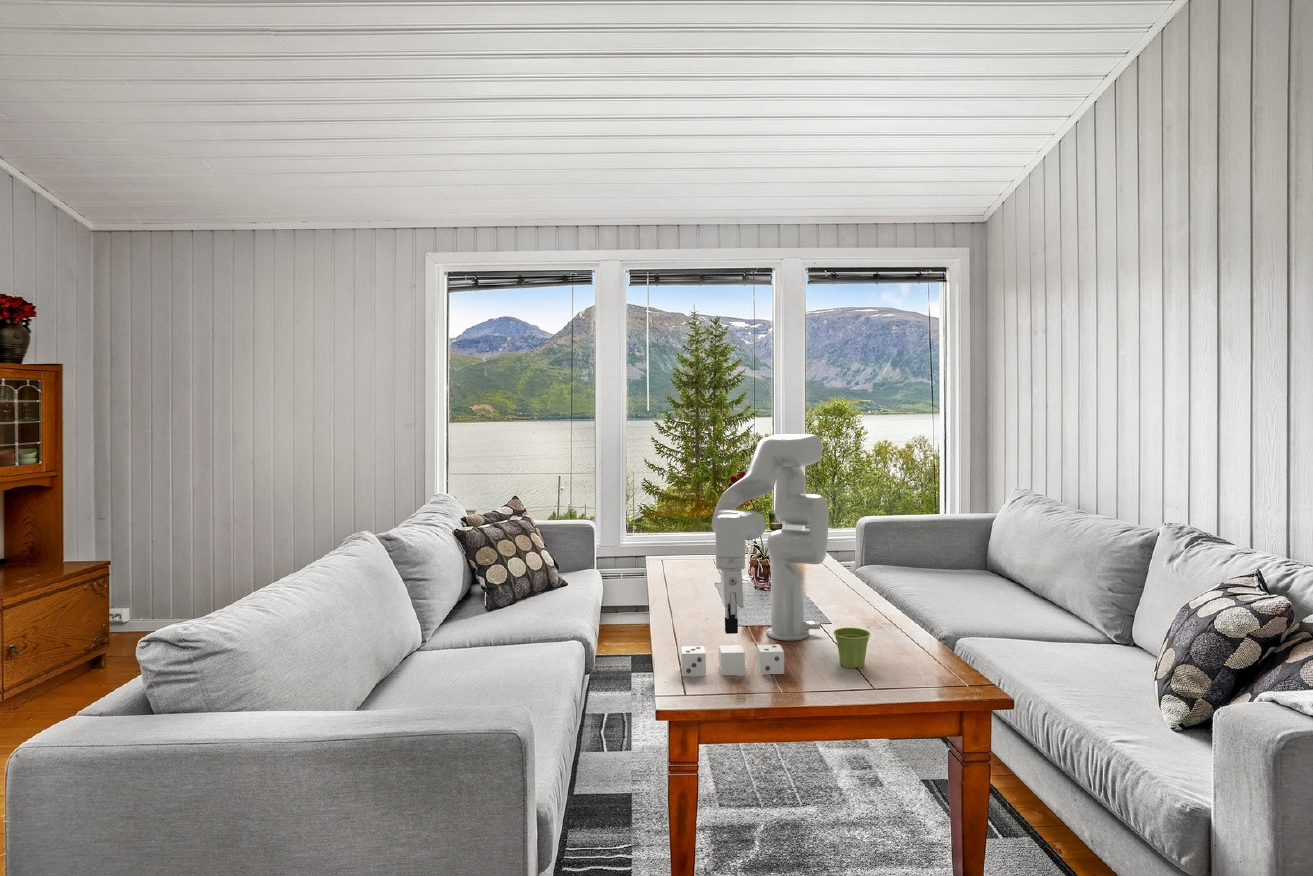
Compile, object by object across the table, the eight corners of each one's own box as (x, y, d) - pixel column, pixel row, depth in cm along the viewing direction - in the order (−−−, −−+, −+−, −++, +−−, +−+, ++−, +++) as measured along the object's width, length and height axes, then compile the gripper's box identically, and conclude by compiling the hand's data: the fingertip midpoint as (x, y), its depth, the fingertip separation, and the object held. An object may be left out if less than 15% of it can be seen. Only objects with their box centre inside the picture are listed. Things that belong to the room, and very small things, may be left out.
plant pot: (864, 673, 199) (864, 639, 198) (828, 667, 204) (828, 634, 203) (875, 663, 206) (875, 630, 206) (840, 657, 211) (840, 625, 211)
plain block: (742, 667, 205) (741, 645, 204) (745, 675, 199) (744, 652, 198) (719, 668, 205) (719, 645, 204) (721, 676, 199) (721, 652, 198)
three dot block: (704, 668, 205) (703, 645, 204) (705, 676, 199) (705, 653, 198) (681, 669, 205) (681, 646, 204) (682, 677, 198) (682, 653, 198)
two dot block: (780, 667, 205) (779, 644, 205) (784, 675, 199) (783, 651, 198) (757, 667, 205) (757, 644, 205) (760, 675, 199) (760, 651, 198)
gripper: (748, 567, 193) (749, 641, 194) (741, 556, 208) (742, 624, 209) (718, 568, 193) (719, 641, 194) (713, 557, 208) (714, 625, 209)
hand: (731, 632), depth 201 cm, fingers closed
